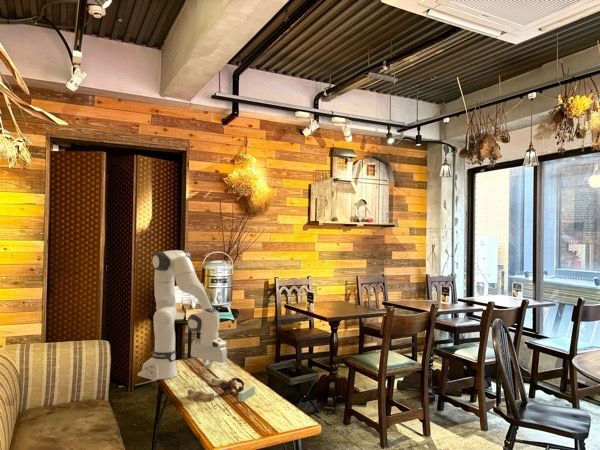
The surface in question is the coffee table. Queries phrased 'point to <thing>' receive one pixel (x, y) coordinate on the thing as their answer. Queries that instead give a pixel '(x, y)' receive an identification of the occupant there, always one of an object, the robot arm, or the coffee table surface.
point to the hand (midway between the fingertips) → (207, 368)
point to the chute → (206, 394)
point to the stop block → (246, 393)
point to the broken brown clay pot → (232, 385)
